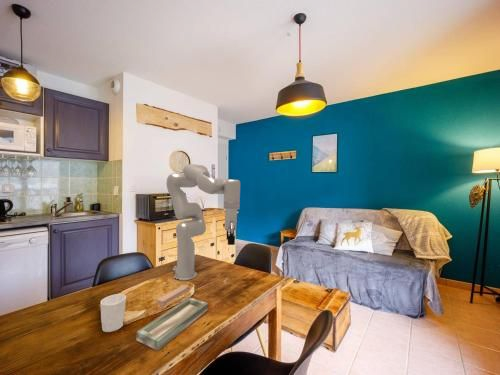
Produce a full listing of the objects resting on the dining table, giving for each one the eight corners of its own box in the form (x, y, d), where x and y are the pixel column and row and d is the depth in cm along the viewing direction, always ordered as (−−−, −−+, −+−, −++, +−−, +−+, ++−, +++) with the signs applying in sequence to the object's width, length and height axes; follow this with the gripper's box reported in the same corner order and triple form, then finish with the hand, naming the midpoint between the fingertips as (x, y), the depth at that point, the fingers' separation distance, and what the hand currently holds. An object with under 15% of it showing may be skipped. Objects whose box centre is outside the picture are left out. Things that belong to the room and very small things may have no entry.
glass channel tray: (136, 340, 74) (136, 331, 74) (189, 304, 98) (189, 297, 98) (157, 350, 70) (158, 341, 70) (207, 310, 94) (207, 303, 93)
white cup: (98, 336, 76) (99, 307, 76) (101, 323, 83) (102, 296, 83) (124, 329, 80) (125, 302, 80) (125, 317, 87) (126, 292, 87)
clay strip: (156, 308, 94) (156, 299, 94) (183, 292, 108) (183, 284, 108) (162, 311, 93) (162, 301, 92) (189, 294, 107) (189, 286, 107)
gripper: (222, 203, 113) (221, 237, 113) (224, 207, 95) (223, 247, 96) (237, 204, 114) (236, 237, 114) (241, 207, 97) (240, 247, 97)
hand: (230, 241), depth 105 cm, fingers open, 9 cm apart
